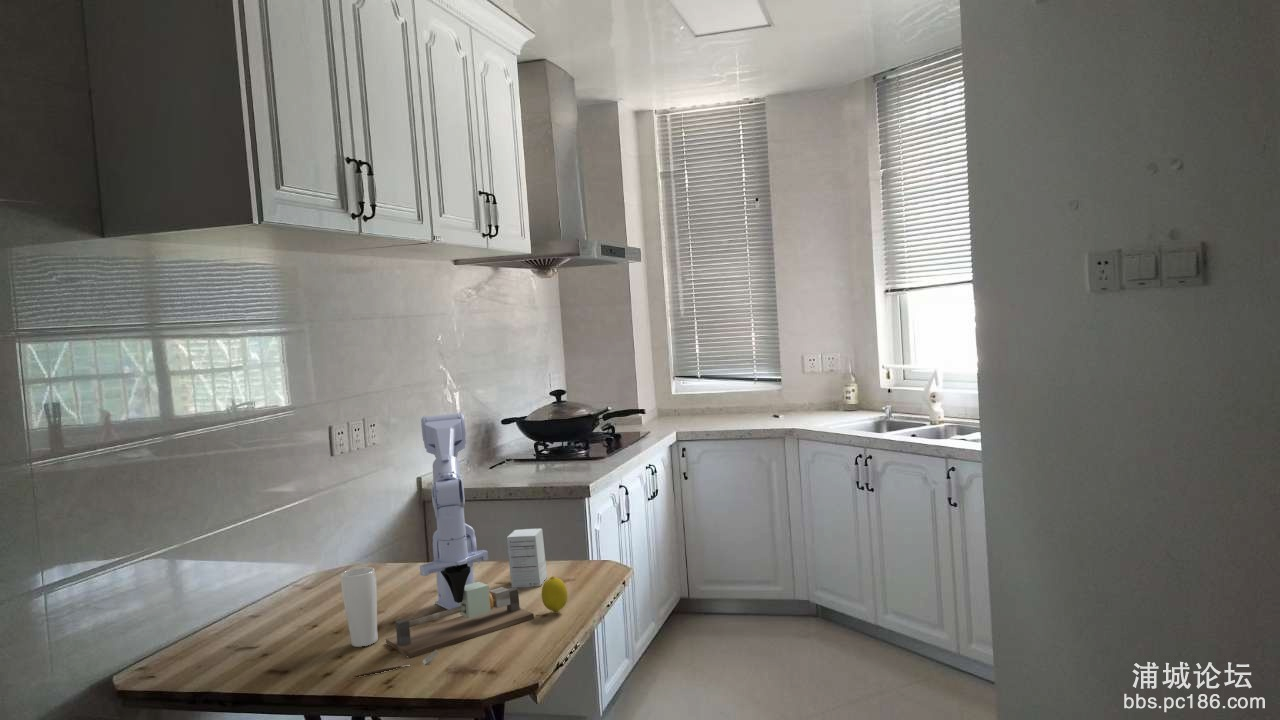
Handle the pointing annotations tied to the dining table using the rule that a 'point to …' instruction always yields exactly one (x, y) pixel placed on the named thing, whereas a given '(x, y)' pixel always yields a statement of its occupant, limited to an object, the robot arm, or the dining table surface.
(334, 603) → the dining table surface
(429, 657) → the fork
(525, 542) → the supplement box
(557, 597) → the lemon
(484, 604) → the pale green block
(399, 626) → the board
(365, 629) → the drinking glass
